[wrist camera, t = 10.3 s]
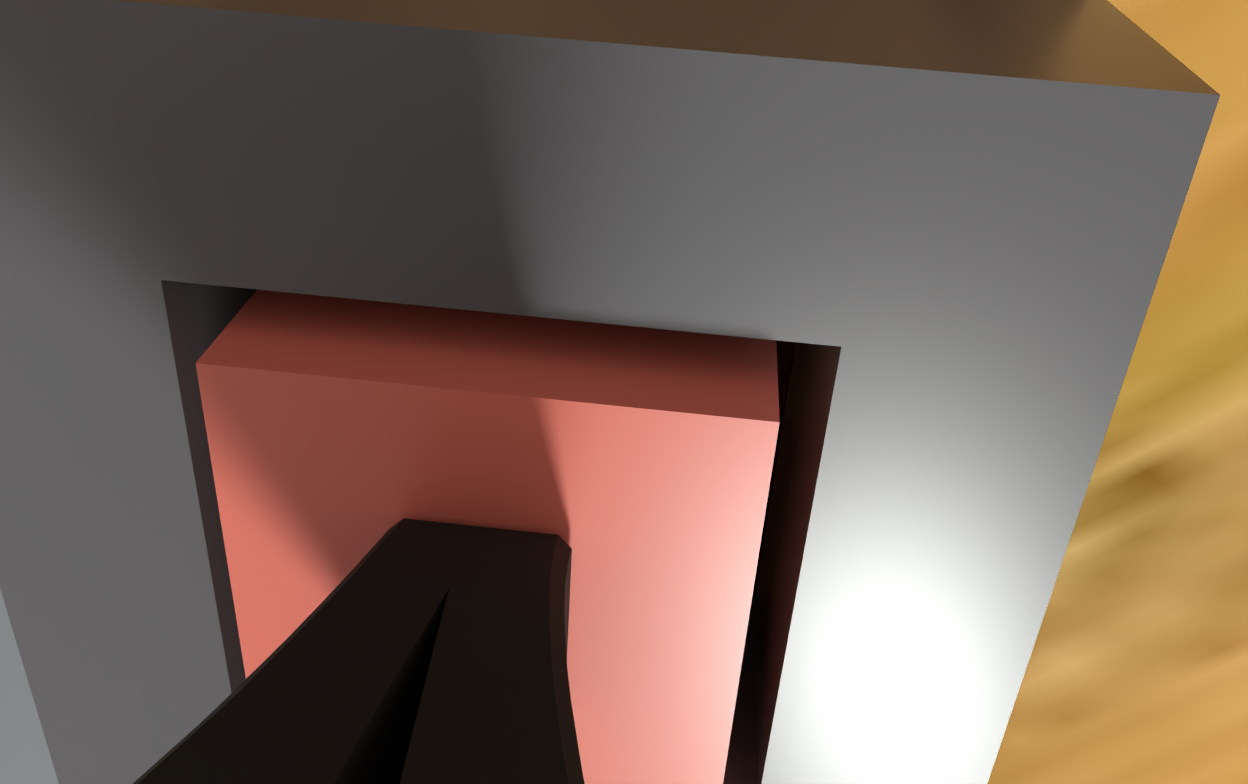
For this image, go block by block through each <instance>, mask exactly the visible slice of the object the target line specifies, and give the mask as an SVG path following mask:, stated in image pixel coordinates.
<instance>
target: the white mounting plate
mask: <svg viewBox="0 0 1248 784" xmlns="http://www.w3.org/2000/svg"><path fill="white" fill-rule="evenodd" d="M0 784H59V783H58V779H57V776H56V773H55V769H54V766H53V763H52V759H51V756H50V753H49V749H48V746H47V743H46V739H45V736H44V733H43V729H42V726H41V723H40V719H39V716H38V713H37V709H36V706H35V703H34V699H33V696H32V693H31V689H30V686H29V683H28V679H27V676H26V673H25V669H24V666H23V663H22V659H21V656H20V653H19V649H18V646H17V643H16V639H15V636H14V633H13V629H12V626H11V623H10V619H9V616H8V613H7V609H6V606H5V603H4V599H3V596H2V593H1V589H0Z"/></svg>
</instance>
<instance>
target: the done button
mask: <svg viewBox="0 0 1248 784" xmlns="http://www.w3.org/2000/svg"><path fill="white" fill-rule="evenodd" d="M196 369H197V376H198V382H199V388H200V394H201V401H202V407H203V413H204V419H205V426H206V432H207V438H208V444H209V451H210V457H211V463H212V469H213V476H214V482H215V488H216V495H217V501H218V507H219V513H220V520H221V526H222V532H223V538H224V545H225V551H226V557H227V563H228V570H229V576H230V582H231V588H232V595H233V601H234V607H235V614H236V620H237V626H238V632H239V639H240V645H241V651H242V657H243V664H244V670H245V676H246V678H247V677H248V676H249V675H250V674H251V673H252V672H254V671H255V670H256V669H257V668H258V667H259V666H260V665H261V664H262V663H263V662H264V661H265V660H266V659H267V658H268V657H269V656H270V655H271V654H272V653H273V652H274V651H275V650H276V649H277V648H278V647H279V646H280V645H281V644H282V643H283V642H284V641H285V640H286V639H287V638H288V637H289V636H290V635H291V634H292V633H293V632H294V631H295V630H296V629H297V628H298V627H299V626H300V625H301V624H302V623H303V621H304V620H305V619H306V618H307V617H308V616H309V615H310V614H311V613H312V612H313V611H314V610H315V609H316V608H317V607H318V606H319V605H320V604H321V603H322V602H323V601H324V600H325V599H326V597H327V596H328V595H329V594H330V593H331V592H332V591H333V590H334V589H335V588H336V587H337V586H338V585H339V584H340V583H341V581H342V580H343V579H344V578H345V577H346V576H347V575H348V574H349V573H350V572H351V571H352V570H353V568H354V567H355V566H356V565H357V564H358V563H359V562H360V561H361V560H362V559H363V557H364V556H365V555H366V554H367V553H368V552H369V551H370V550H371V549H372V548H373V546H374V545H375V544H376V543H377V542H378V541H379V540H380V539H381V538H382V536H383V535H384V534H385V533H386V532H387V531H388V530H389V529H390V528H391V527H392V526H394V525H395V524H396V523H398V522H399V521H401V520H402V519H403V518H406V519H415V520H424V521H434V522H443V523H452V524H462V525H471V526H480V527H490V528H499V529H508V530H518V531H527V532H536V533H545V534H555V535H559V536H560V537H561V538H562V539H563V540H564V541H565V542H566V543H567V544H568V545H569V546H570V547H571V548H572V558H571V580H570V602H569V624H568V646H567V670H568V679H569V687H570V696H571V703H572V710H573V716H574V722H575V728H576V735H577V741H578V747H579V754H580V760H581V766H582V772H583V777H584V782H585V784H723V780H724V774H725V768H726V761H727V755H728V748H729V742H730V736H731V729H732V723H733V716H734V710H735V704H736V697H737V691H738V685H739V678H740V672H741V665H742V659H743V653H744V646H745V640H746V633H747V627H748V621H749V614H750V608H751V602H752V595H753V589H754V582H755V576H756V570H757V563H758V557H759V551H760V544H761V538H762V531H763V525H764V519H765V512H766V506H767V499H768V493H769V487H770V480H771V474H772V468H773V461H774V455H775V448H776V442H777V436H778V429H779V423H780V421H779V396H778V370H777V345H776V340H768V339H757V338H747V337H737V336H727V335H717V334H706V333H696V332H686V331H676V330H666V329H655V328H645V327H635V326H625V325H615V324H604V323H594V322H584V321H574V320H563V319H553V318H543V317H533V316H523V315H512V314H502V313H492V312H482V311H472V310H461V309H451V308H441V307H431V306H421V305H410V304H400V303H390V302H380V301H369V300H359V299H349V298H339V297H329V296H318V295H308V294H298V293H288V292H278V291H267V290H257V291H256V292H255V293H254V294H253V295H252V297H251V298H250V299H249V300H248V301H247V302H246V304H245V305H244V306H243V307H242V308H241V310H240V311H239V312H238V313H237V314H236V316H235V317H234V318H233V319H232V320H231V321H230V323H229V324H228V325H227V326H226V327H225V329H224V330H223V331H222V332H221V333H220V335H219V336H218V337H217V338H216V339H215V340H214V342H213V343H212V344H211V345H210V346H209V348H208V349H207V350H206V351H205V352H204V354H203V355H202V356H201V357H200V358H199V360H198V361H197V362H196Z"/></svg>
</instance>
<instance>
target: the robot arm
mask: <svg viewBox="0 0 1248 784" xmlns="http://www.w3.org/2000/svg"><path fill="white" fill-rule="evenodd" d="M571 558H572V548H571V547H570V546H569V545H568V544H567V543H566V542H565V541H564V540H563V539H562V538H561V537H560V536H559V535H555V534H545V533H536V532H527V531H518V530H508V529H499V528H490V527H480V526H471V525H462V524H452V523H443V522H434V521H424V520H415V519H406V518H403V519H402V520H401V521H399V522H398V523H396V524H395V525H394V526H392V527H391V528H390V529H389V530H388V531H387V532H386V533H385V534H384V535H383V536H382V538H381V539H380V540H379V541H378V542H377V543H376V544H375V545H374V546H373V548H372V549H371V550H370V551H369V552H368V553H367V554H366V555H365V556H364V557H363V559H362V560H361V561H360V562H359V563H358V564H357V565H356V566H355V567H354V568H353V570H352V571H351V572H350V573H349V574H348V575H347V576H346V577H345V578H344V579H343V580H342V581H341V583H340V584H339V585H338V586H337V587H336V588H335V589H334V590H333V591H332V592H331V593H330V594H329V595H328V596H327V597H326V599H325V600H324V601H323V602H322V603H321V604H320V605H319V606H318V607H317V608H316V609H315V610H314V611H313V612H312V613H311V614H310V615H309V616H308V617H307V618H306V619H305V620H304V621H303V623H302V624H301V625H300V626H299V627H298V628H297V629H296V630H295V631H294V632H293V633H292V634H291V635H290V636H289V637H288V638H287V639H286V640H285V641H284V642H283V643H282V644H281V645H280V646H279V647H278V648H277V649H276V650H275V651H274V652H273V653H272V654H271V655H270V656H269V657H268V658H267V659H266V660H265V661H264V662H263V663H262V664H261V665H260V666H259V667H258V668H257V669H256V670H255V671H254V672H252V673H251V674H250V675H249V676H248V677H247V678H246V679H245V680H244V681H243V682H242V683H241V684H240V685H239V686H238V687H237V688H236V689H235V690H234V691H233V692H232V693H231V694H230V695H229V696H228V697H227V698H226V699H225V700H224V701H223V702H222V703H221V704H220V705H219V706H218V707H217V708H216V709H215V710H214V711H213V712H211V713H210V714H209V715H208V716H207V717H206V718H205V719H204V720H203V721H202V722H201V723H200V724H199V725H198V726H197V727H195V728H194V729H193V730H192V731H191V732H190V733H189V734H188V735H186V736H185V737H184V738H183V739H182V740H181V741H180V742H179V743H178V744H176V745H175V746H174V747H173V748H172V749H171V750H170V751H169V752H167V753H166V754H165V755H164V756H163V757H162V758H161V759H160V760H158V761H157V762H156V763H155V764H154V765H153V766H152V767H151V768H149V769H148V770H147V771H146V772H145V773H144V774H143V775H142V776H141V777H139V778H138V779H137V780H136V781H135V782H134V783H133V784H585V782H584V777H583V772H582V766H581V760H580V754H579V747H578V741H577V735H576V728H575V722H574V716H573V710H572V703H571V696H570V687H569V679H568V670H567V646H568V624H569V602H570V580H571Z"/></svg>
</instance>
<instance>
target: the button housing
mask: <svg viewBox="0 0 1248 784" xmlns="http://www.w3.org/2000/svg"><path fill="white" fill-rule="evenodd" d="M1219 97H1220V94H1218V93H1217V92H1216V91H1215V90H1214V89H1212V88H1211V87H1210V86H1209V85H1208V84H1206V83H1205V82H1204V81H1203V80H1202V79H1200V78H1199V77H1198V76H1197V75H1196V74H1194V73H1193V72H1192V71H1191V70H1190V69H1188V68H1187V67H1186V66H1185V65H1184V64H1182V63H1181V62H1180V61H1179V60H1178V59H1176V58H1175V57H1174V56H1173V55H1172V54H1171V53H1169V52H1168V51H1167V50H1166V49H1165V48H1163V47H1162V46H1161V45H1160V44H1159V43H1157V42H1156V41H1155V40H1154V39H1153V38H1151V37H1150V36H1149V35H1148V34H1147V33H1145V32H1144V31H1143V30H1142V29H1141V28H1139V27H1138V26H1137V25H1136V24H1135V23H1133V22H1132V21H1131V20H1130V19H1129V18H1127V17H1126V16H1125V15H1124V14H1123V13H1121V12H1120V11H1119V10H1118V9H1117V8H1115V7H1114V6H1113V5H1112V4H1111V3H1109V2H1108V1H1107V0H0V589H1V593H2V596H3V599H4V603H5V606H6V609H7V613H8V616H9V619H10V623H11V626H12V629H13V633H14V636H15V639H16V643H17V646H18V649H19V653H20V656H21V659H22V663H23V666H24V669H25V673H26V676H27V679H28V683H29V686H30V689H31V693H32V696H33V699H34V703H35V706H36V709H37V713H38V716H39V719H40V723H41V726H42V729H43V733H44V736H45V739H46V743H47V746H48V749H49V753H50V756H51V759H52V763H53V766H54V769H55V773H56V776H57V779H58V783H59V784H133V783H134V782H135V781H136V780H137V779H138V778H139V777H141V776H142V775H143V774H144V773H145V772H146V771H147V770H148V769H149V768H151V767H152V766H153V765H154V764H155V763H156V762H157V761H158V760H160V759H161V758H162V757H163V756H164V755H165V754H166V753H167V752H169V751H170V750H171V749H172V748H173V747H174V746H175V745H176V744H178V743H179V742H180V741H181V740H182V739H183V738H184V737H185V736H186V735H188V734H189V733H190V732H191V731H192V730H193V729H194V728H195V727H197V726H198V725H199V724H200V723H201V722H202V721H203V720H204V719H205V718H206V717H207V716H208V715H209V714H210V713H211V712H213V711H214V710H215V709H216V708H217V707H218V706H219V705H220V704H221V703H222V702H223V701H224V700H225V699H226V698H227V697H228V696H229V695H230V694H231V693H232V692H233V691H234V690H235V689H236V688H237V687H238V686H239V685H240V684H241V683H242V682H243V681H244V680H245V679H246V676H245V670H244V664H243V657H242V651H241V645H240V639H239V632H238V626H237V620H236V614H235V607H234V601H233V595H232V588H231V582H230V576H229V570H228V563H227V557H226V551H225V545H224V538H223V532H222V526H221V520H220V513H219V507H218V501H217V495H216V488H215V482H214V476H213V469H212V463H211V457H210V451H209V444H208V438H207V432H206V426H205V419H204V413H203V407H202V401H201V394H200V388H199V382H198V376H197V369H196V362H197V361H198V360H199V358H200V357H201V356H202V355H203V354H204V352H205V351H206V350H207V349H208V348H209V346H210V345H211V344H212V343H213V342H214V340H215V339H216V338H217V337H218V336H219V335H220V333H221V332H222V331H223V330H224V329H225V327H226V326H227V325H228V324H229V323H230V321H231V320H232V319H233V318H234V317H235V316H236V314H237V313H238V312H239V311H240V310H241V308H242V307H243V306H244V305H245V304H246V302H247V301H248V300H249V299H250V298H251V297H252V295H253V294H254V293H255V292H256V291H257V290H267V291H278V292H288V293H298V294H308V295H318V296H329V297H339V298H349V299H359V300H369V301H380V302H390V303H400V304H410V305H421V306H431V307H441V308H451V309H461V310H472V311H482V312H492V313H502V314H512V315H523V316H533V317H543V318H553V319H563V320H574V321H584V322H594V323H604V324H615V325H625V326H635V327H645V328H655V329H666V330H676V331H686V332H696V333H706V334H717V335H727V336H737V337H747V338H757V339H768V340H778V341H788V342H796V346H795V352H794V359H793V365H792V371H791V377H790V384H789V390H788V396H787V403H786V409H785V415H784V422H783V428H782V434H781V440H780V447H779V453H778V459H777V466H776V472H775V478H774V485H773V491H772V497H771V503H770V510H769V516H768V522H767V529H766V535H765V541H764V547H763V554H762V560H761V566H760V573H759V579H758V585H757V592H756V595H752V602H751V608H750V614H749V621H748V627H747V633H746V640H745V646H744V653H743V659H742V665H741V672H740V678H739V685H738V691H737V697H736V704H735V710H734V716H733V723H732V729H731V736H730V742H729V748H728V755H727V761H726V768H725V774H724V780H723V784H987V783H988V780H989V777H990V774H991V771H992V768H993V765H994V762H995V759H996V756H997V753H998V750H999V747H1000V744H1001V741H1002V739H1003V736H1004V733H1005V730H1006V727H1007V724H1008V721H1009V718H1010V715H1011V712H1012V709H1013V706H1014V703H1015V700H1016V697H1017V694H1018V691H1019V688H1020V685H1021V682H1022V679H1023V676H1024V673H1025V671H1026V668H1027V665H1028V662H1029V659H1030V656H1031V653H1032V650H1033V647H1034V644H1035V641H1036V638H1037V635H1038V632H1039V629H1040V626H1041V623H1042V620H1043V617H1044V614H1045V611H1046V608H1047V605H1048V603H1049V600H1050V597H1051V594H1052V591H1053V588H1054V585H1055V582H1056V579H1057V576H1058V573H1059V570H1060V567H1061V564H1062V561H1063V558H1064V555H1065V552H1066V549H1067V546H1068V543H1069V540H1070V537H1071V535H1072V532H1073V529H1074V526H1075V523H1076V520H1077V517H1078V514H1079V511H1080V508H1081V505H1082V502H1083V499H1084V496H1085V493H1086V490H1087V487H1088V484H1089V481H1090V478H1091V475H1092V472H1093V470H1094V467H1095V464H1096V461H1097V458H1098V455H1099V452H1100V449H1101V446H1102V443H1103V440H1104V437H1105V434H1106V431H1107V428H1108V425H1109V422H1110V419H1111V416H1112V413H1113V410H1114V407H1115V404H1116V402H1117V399H1118V396H1119V393H1120V390H1121V387H1122V384H1123V381H1124V378H1125V375H1126V372H1127V369H1128V366H1129V363H1130V360H1131V357H1132V354H1133V351H1134V348H1135V345H1136V342H1137V339H1138V336H1139V334H1140V331H1141V328H1142V325H1143V322H1144V319H1145V316H1146V313H1147V310H1148V307H1149V304H1150V301H1151V298H1152V295H1153V292H1154V289H1155V286H1156V283H1157V280H1158V277H1159V274H1160V271H1161V268H1162V266H1163V263H1164V260H1165V257H1166V254H1167V251H1168V248H1169V245H1170V242H1171V239H1172V236H1173V233H1174V230H1175V227H1176V224H1177V221H1178V218H1179V215H1180V212H1181V209H1182V206H1183V203H1184V201H1185V198H1186V195H1187V192H1188V189H1189V186H1190V183H1191V180H1192V177H1193V174H1194V171H1195V168H1196V165H1197V162H1198V159H1199V156H1200V153H1201V150H1202V147H1203V144H1204V141H1205V138H1206V135H1207V133H1208V130H1209V127H1210V124H1211V121H1212V118H1213V115H1214V112H1215V109H1216V106H1217V103H1218V100H1219Z"/></svg>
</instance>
